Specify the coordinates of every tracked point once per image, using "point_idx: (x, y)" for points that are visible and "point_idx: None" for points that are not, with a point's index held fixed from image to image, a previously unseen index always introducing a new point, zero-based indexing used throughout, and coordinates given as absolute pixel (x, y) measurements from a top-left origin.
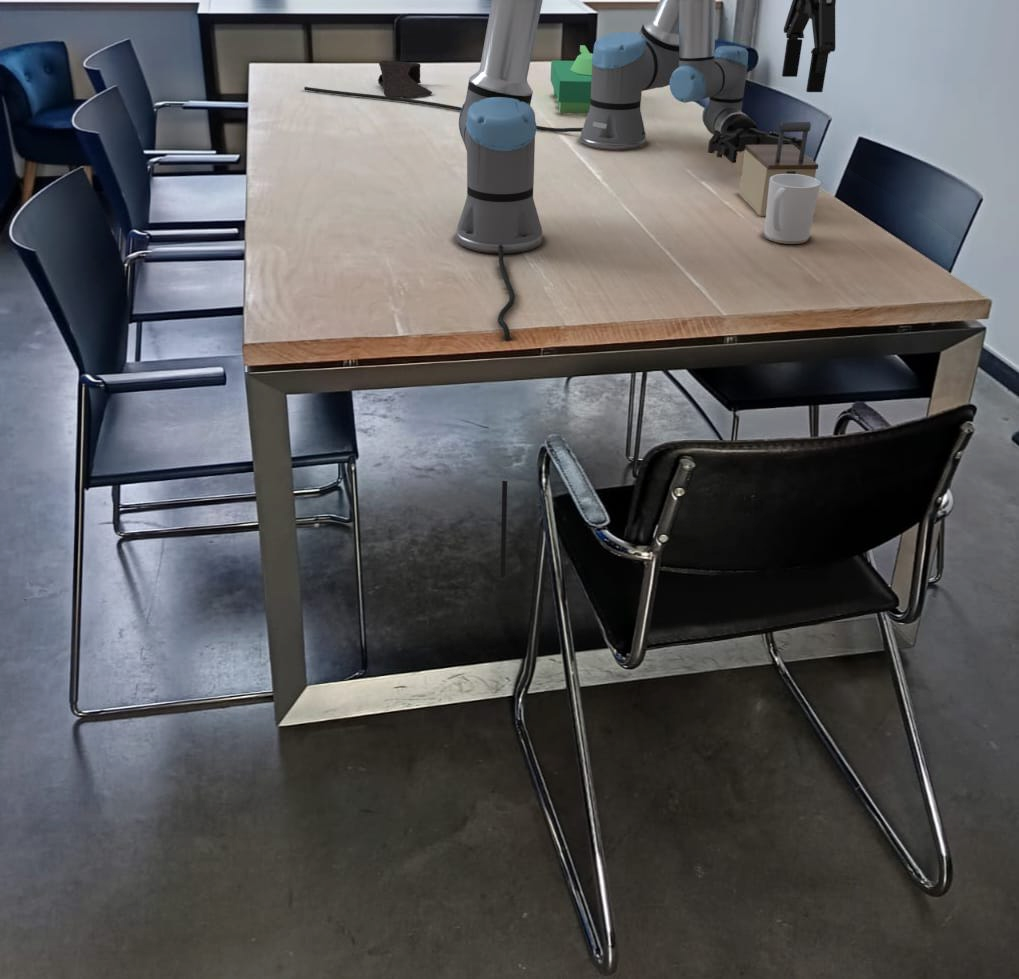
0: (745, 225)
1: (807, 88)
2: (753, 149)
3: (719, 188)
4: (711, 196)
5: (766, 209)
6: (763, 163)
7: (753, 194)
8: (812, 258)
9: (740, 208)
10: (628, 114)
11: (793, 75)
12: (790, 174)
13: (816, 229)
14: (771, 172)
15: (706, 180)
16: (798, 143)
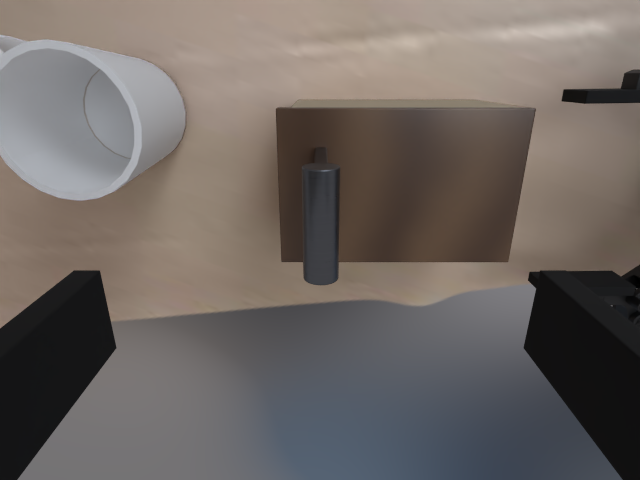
0: (227, 38)
1: (76, 279)
2: (472, 118)
3: (539, 61)
4: (474, 15)
5: None
6: (326, 107)
7: (369, 101)
8: None
9: (363, 68)
10: None
11: (532, 332)
12: (135, 134)
13: (205, 200)
14: None
15: (619, 44)
16: (627, 313)
